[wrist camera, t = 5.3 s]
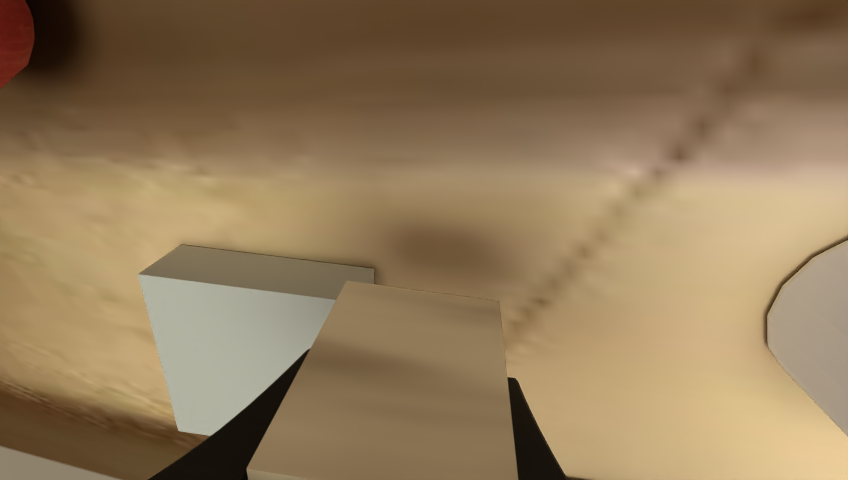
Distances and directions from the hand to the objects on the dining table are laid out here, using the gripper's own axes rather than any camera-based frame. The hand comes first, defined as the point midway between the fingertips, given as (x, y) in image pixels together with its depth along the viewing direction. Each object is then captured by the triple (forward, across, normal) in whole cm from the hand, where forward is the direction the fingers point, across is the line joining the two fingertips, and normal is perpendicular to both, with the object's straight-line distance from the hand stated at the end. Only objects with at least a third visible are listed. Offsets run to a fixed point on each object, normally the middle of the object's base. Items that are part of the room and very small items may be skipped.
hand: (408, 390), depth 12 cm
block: (+2, 0, 0) cm, 2 cm away
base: (+9, +8, +6) cm, 14 cm away
